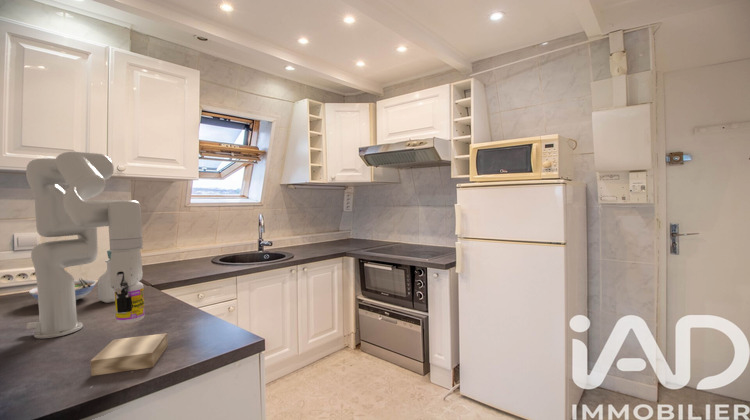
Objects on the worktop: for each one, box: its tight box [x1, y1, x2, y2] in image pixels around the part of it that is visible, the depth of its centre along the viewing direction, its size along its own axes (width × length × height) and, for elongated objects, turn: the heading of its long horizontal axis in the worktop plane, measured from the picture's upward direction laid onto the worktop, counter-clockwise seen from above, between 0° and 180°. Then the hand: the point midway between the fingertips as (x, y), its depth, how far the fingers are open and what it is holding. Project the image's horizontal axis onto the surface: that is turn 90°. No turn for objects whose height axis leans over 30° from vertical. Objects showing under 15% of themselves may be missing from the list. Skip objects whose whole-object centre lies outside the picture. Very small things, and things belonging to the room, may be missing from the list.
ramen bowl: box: [28, 277, 98, 301], centre depth 156 cm, size 25×23×8 cm
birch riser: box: [90, 332, 169, 377], centre depth 99 cm, size 14×14×4 cm
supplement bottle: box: [114, 274, 146, 324], centre depth 98 cm, size 7×7×13 cm
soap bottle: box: [96, 249, 115, 304], centre depth 158 cm, size 10×10×23 cm
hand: (130, 307), depth 98 cm, fingers closed on supplement bottle, 6 cm apart
